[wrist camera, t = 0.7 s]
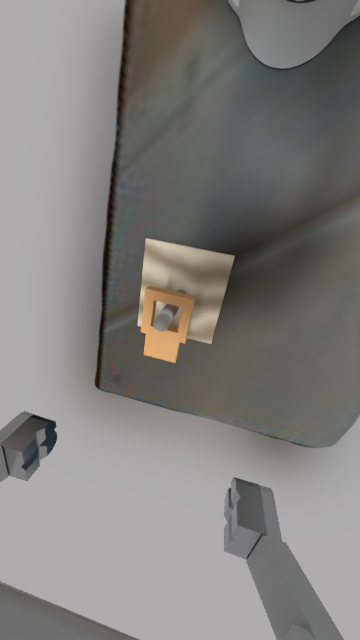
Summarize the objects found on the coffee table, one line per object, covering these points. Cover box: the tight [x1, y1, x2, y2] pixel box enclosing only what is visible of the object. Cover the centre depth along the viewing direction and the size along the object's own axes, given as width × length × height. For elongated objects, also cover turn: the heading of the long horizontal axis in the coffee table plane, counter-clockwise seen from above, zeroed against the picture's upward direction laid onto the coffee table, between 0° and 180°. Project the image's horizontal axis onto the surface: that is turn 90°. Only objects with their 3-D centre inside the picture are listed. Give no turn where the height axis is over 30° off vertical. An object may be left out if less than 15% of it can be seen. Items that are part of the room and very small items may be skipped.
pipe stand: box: [137, 238, 235, 344], centre depth 41 cm, size 20×18×17 cm
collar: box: [141, 286, 196, 363], centre depth 38 cm, size 12×8×2 cm, turn 170°
